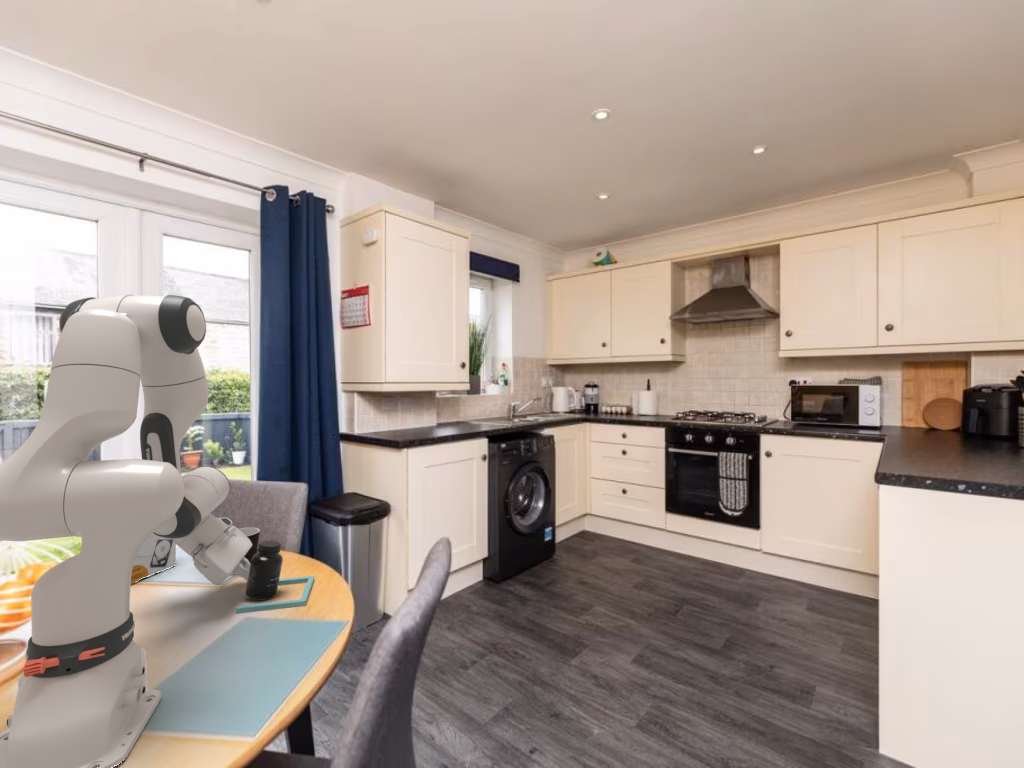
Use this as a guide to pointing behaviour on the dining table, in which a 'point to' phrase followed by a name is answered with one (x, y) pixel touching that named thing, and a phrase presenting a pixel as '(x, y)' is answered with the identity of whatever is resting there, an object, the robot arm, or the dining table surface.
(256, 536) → the coffee mug
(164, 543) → the hard drive box
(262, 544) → the supplement bottle
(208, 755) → the dining table surface
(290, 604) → the teal frame
